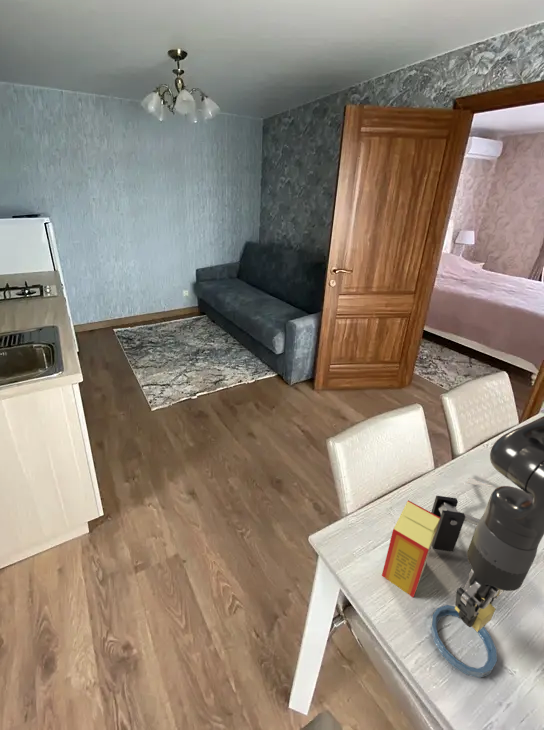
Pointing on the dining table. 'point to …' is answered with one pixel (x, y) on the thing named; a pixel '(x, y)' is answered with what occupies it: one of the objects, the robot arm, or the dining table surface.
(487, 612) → the butter pat
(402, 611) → the dining table surface
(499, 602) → the dining table surface
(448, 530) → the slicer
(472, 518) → the slicer blade
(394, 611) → the dining table surface
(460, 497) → the dining table surface
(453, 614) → the blue hoop band
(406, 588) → the baking soda box
